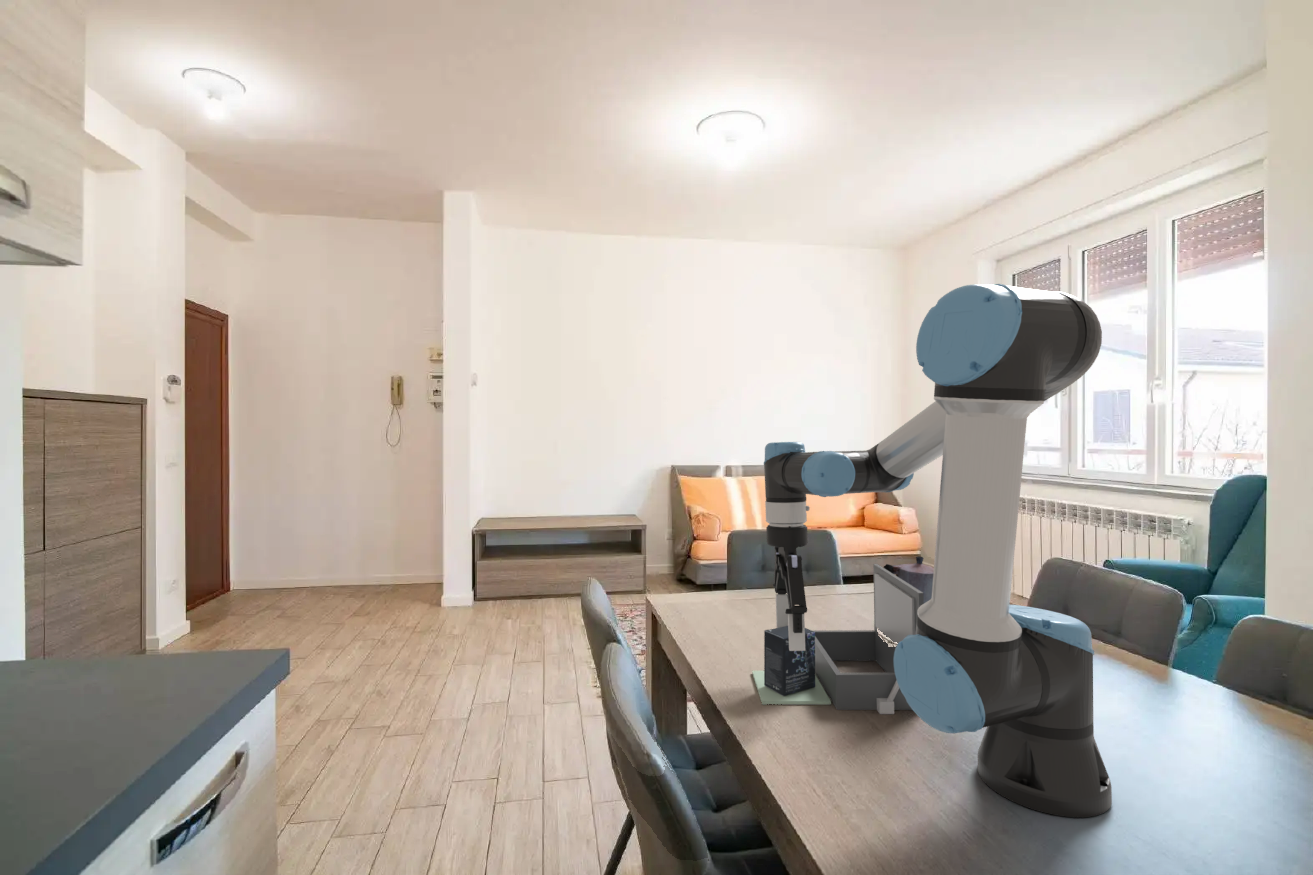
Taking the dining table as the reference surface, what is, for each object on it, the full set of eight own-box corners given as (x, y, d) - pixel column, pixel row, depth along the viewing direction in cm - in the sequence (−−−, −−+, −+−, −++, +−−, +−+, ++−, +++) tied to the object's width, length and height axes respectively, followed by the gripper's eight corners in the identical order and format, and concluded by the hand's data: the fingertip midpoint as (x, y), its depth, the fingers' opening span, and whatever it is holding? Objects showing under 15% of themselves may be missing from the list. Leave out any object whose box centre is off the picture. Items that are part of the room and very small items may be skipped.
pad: (830, 704, 106) (830, 701, 106) (762, 704, 106) (762, 700, 106) (813, 673, 120) (813, 670, 120) (752, 673, 120) (752, 670, 120)
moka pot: (959, 653, 130) (958, 560, 130) (887, 653, 130) (885, 560, 130) (939, 638, 139) (938, 551, 140) (872, 638, 140) (871, 552, 140)
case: (934, 714, 102) (932, 595, 102) (839, 713, 102) (837, 595, 102) (882, 658, 127) (881, 563, 127) (807, 658, 128) (805, 564, 128)
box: (784, 697, 108) (783, 638, 108) (763, 686, 112) (762, 629, 112) (816, 687, 111) (815, 630, 111) (795, 677, 116) (794, 622, 116)
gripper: (822, 532, 101) (826, 660, 100) (794, 516, 125) (797, 619, 125) (777, 533, 101) (781, 661, 100) (757, 517, 126) (760, 620, 125)
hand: (790, 638), depth 113 cm, fingers open, 13 cm apart
